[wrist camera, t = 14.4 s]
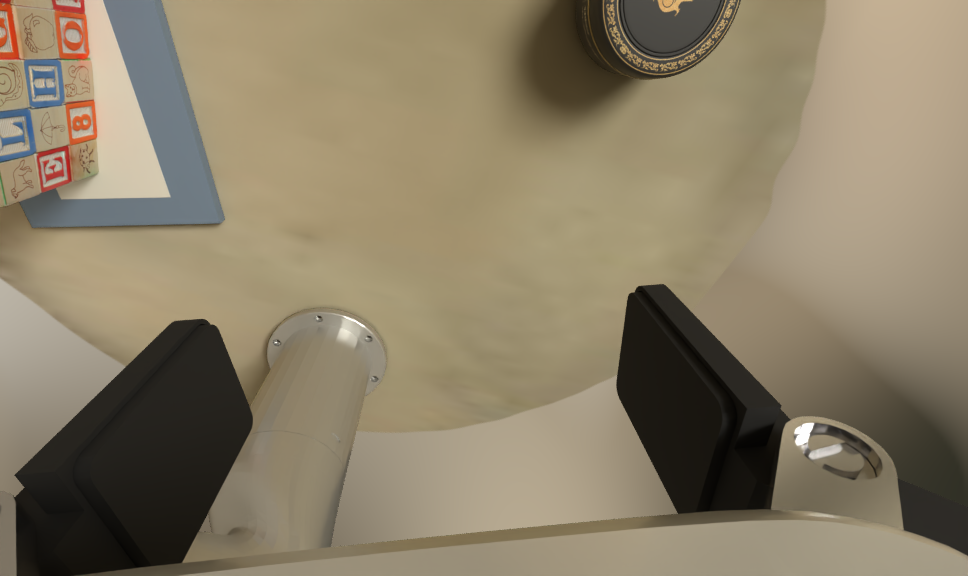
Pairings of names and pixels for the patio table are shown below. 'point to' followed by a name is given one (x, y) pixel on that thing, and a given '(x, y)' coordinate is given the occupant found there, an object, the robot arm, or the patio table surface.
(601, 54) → the jar
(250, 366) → the patio table surface
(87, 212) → the board
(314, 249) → the patio table surface
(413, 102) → the patio table surface
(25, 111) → the stack of blocks
